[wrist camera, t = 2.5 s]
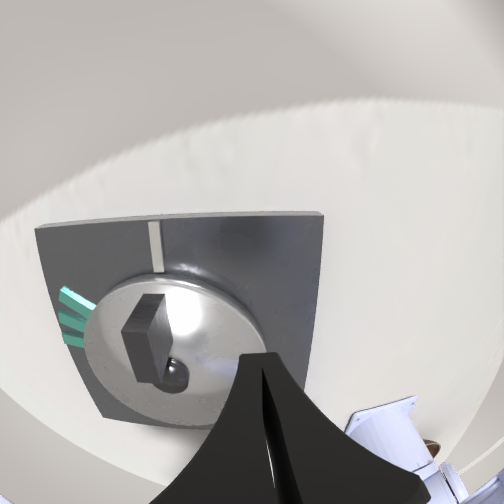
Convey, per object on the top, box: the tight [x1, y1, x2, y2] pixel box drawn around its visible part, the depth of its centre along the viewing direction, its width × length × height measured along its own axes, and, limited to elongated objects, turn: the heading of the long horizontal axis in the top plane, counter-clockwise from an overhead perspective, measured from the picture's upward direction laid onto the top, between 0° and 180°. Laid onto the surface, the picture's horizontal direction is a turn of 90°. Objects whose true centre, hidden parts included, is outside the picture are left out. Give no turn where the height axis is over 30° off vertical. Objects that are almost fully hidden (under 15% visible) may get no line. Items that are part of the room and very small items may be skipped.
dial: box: [84, 273, 267, 426], centre depth 14 cm, size 12×12×5 cm
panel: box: [34, 211, 324, 429], centre depth 17 cm, size 18×18×2 cm
